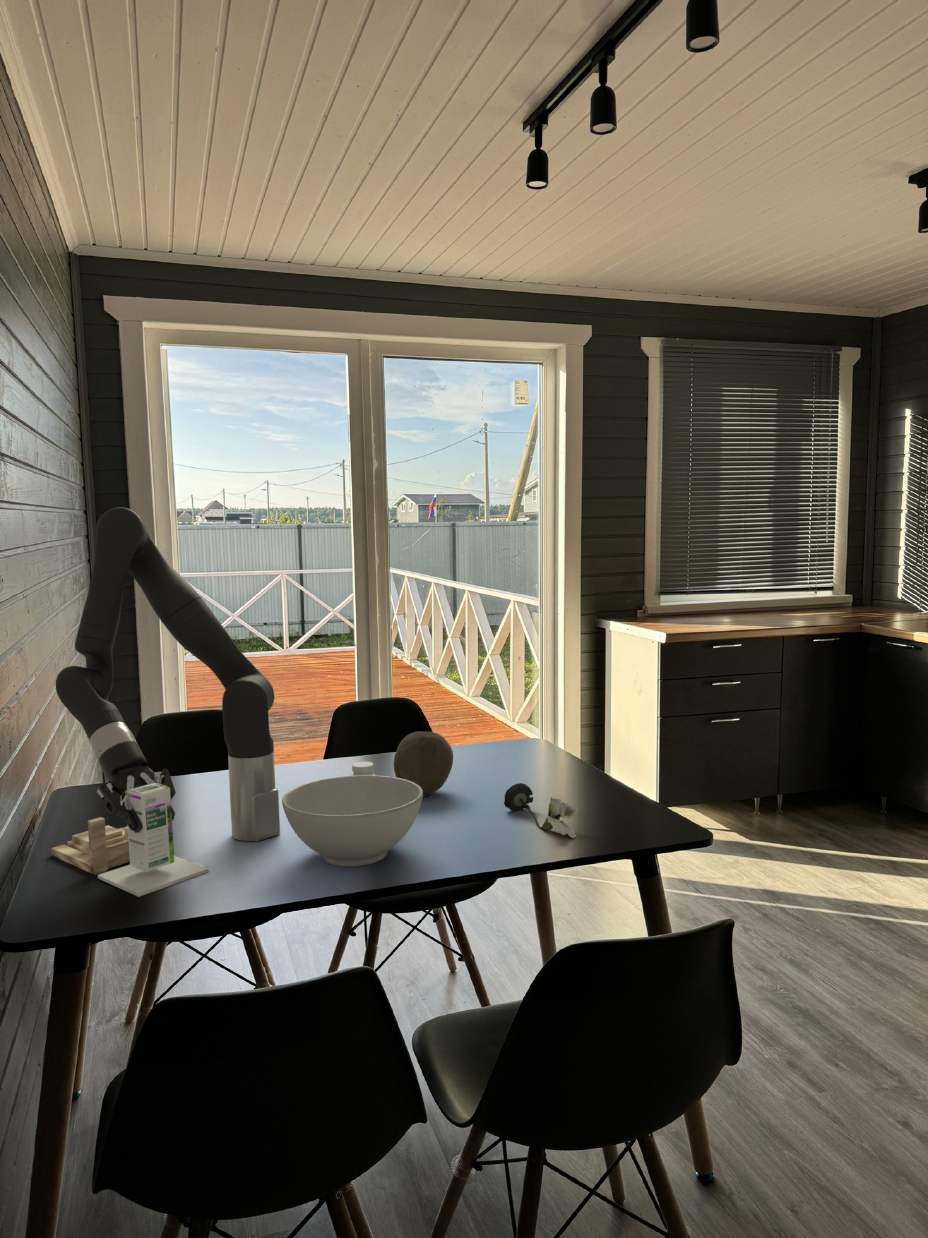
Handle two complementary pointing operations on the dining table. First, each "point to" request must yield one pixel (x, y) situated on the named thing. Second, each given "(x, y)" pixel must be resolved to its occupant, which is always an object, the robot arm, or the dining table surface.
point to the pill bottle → (362, 768)
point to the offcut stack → (77, 840)
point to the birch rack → (96, 850)
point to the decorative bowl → (353, 816)
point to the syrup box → (151, 827)
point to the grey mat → (152, 876)
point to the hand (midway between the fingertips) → (155, 825)
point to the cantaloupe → (424, 760)
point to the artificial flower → (520, 798)
